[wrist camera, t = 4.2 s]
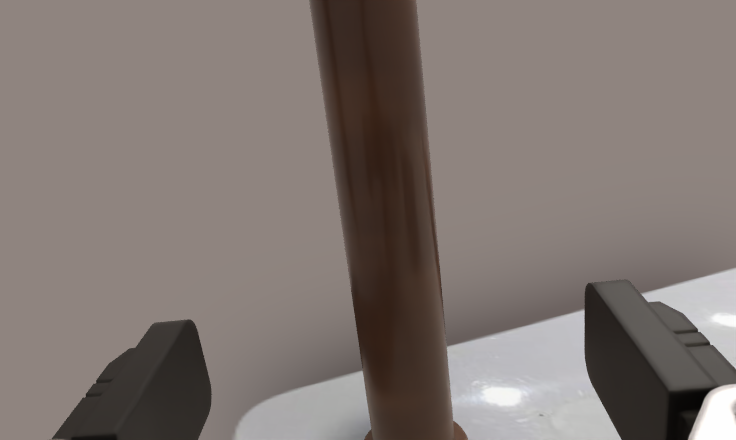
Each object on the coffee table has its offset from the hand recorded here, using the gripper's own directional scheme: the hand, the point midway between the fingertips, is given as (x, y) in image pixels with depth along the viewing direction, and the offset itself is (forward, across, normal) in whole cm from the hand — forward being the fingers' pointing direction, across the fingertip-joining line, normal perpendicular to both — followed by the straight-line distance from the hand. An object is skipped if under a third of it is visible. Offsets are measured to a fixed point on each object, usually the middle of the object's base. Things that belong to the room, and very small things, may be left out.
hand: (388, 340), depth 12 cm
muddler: (+7, 0, +10) cm, 12 cm away
